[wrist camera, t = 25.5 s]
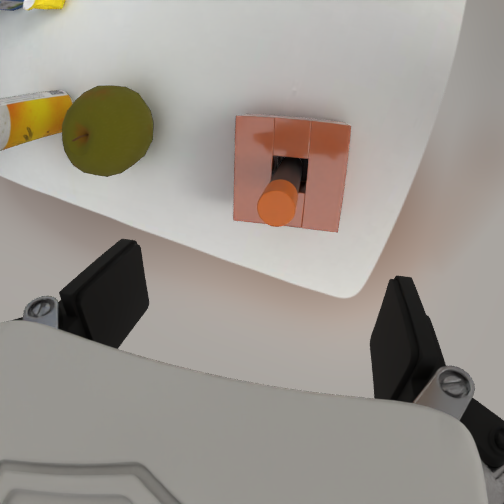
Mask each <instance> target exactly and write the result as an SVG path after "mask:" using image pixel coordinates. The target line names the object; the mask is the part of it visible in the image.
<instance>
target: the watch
mask: <svg viewBox="0 0 504 504" xmlns="http://www.w3.org/2000/svg"><path fill="white" fill-rule="evenodd" d="M64 3H65V0H24V3H23V8H24V9H25V10H32V9H33V8H35V9H62V8H63V5H64Z"/></svg>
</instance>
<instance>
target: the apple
mask: <svg viewBox="0 0 504 504" xmlns="http://www.w3.org/2000/svg"><path fill="white" fill-rule="evenodd" d="M152 140H153V118H152V114H151V110H150V109H149V107H148V106H147V105H146V103H145V102H144V100H143V99H142V98H141V96H140V95H139V93H137V92H135V91H133V90H131V89H129V88H127V87H121V86H96V87H94V88H92V89H90V90H88V91H86V92H84V93H83V94H82V95H81V96H80V97H79V98H77V99H76V100H75V102H74V103H73V104H72V105H71V107H70V108H69V109H68V110H67V112H66V115H65V118H64V120H63V123H62V141H63V146H64V150H65V153H66V154H67V156H68V158H69V160H70V161H71V163H72V164H73V165H74V166H75V167H77V168H78V169H80V170H81V171H83V172H84V173H89V174H93V175H99V176H106V177H108V176H112V175H116V174H119V173H122V172H124V171H125V170H126V169H128V168H129V167H131V166H132V165H134V164H135V163H136V162H137V161H139V160H140V159H141V158H142V157H143V156H145V154H146V152H147V150H148V148H149V146H150V144H151V142H152Z"/></svg>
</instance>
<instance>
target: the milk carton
mask: <svg viewBox="0 0 504 504" xmlns="http://www.w3.org/2000/svg"><path fill="white" fill-rule="evenodd" d="M23 3H24V0H0V10H13V11H14V10H16V9H19V8H21V7H23Z"/></svg>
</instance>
